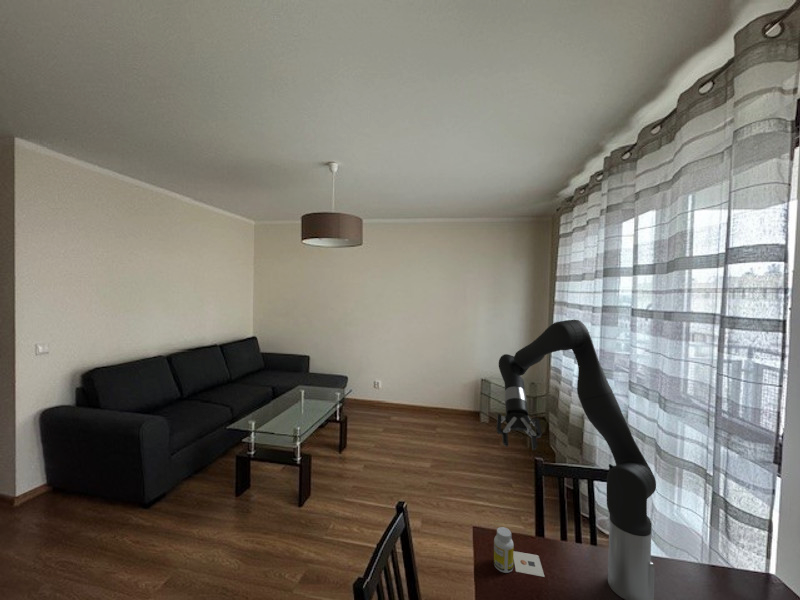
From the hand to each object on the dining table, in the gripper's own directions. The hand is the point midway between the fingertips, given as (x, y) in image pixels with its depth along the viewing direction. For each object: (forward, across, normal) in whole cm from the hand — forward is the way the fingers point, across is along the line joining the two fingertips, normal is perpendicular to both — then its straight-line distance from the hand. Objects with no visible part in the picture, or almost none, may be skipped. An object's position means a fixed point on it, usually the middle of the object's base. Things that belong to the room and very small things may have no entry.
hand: (520, 447), depth 108 cm
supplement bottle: (+31, -6, +10) cm, 33 cm away
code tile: (+28, +1, +12) cm, 31 cm away
